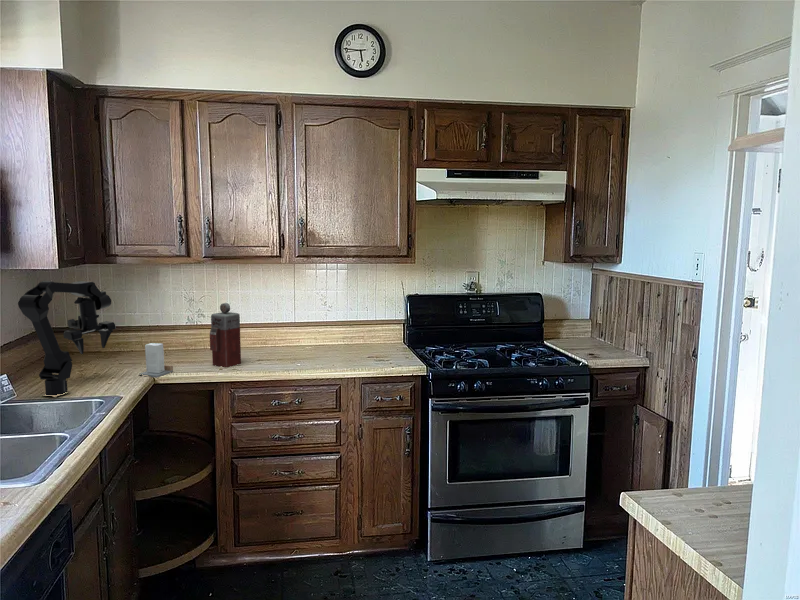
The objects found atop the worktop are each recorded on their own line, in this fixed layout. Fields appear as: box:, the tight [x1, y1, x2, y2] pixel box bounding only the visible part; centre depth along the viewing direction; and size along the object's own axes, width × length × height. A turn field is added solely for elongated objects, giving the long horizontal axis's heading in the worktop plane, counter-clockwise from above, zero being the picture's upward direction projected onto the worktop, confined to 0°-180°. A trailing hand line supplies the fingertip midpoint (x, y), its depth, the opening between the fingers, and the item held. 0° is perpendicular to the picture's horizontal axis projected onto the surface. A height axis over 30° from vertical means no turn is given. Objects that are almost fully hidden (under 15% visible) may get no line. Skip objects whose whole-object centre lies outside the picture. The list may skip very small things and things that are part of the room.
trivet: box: [139, 364, 174, 379], centre depth 242 cm, size 10×9×3 cm
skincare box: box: [144, 342, 165, 373], centre depth 241 cm, size 6×4×12 cm
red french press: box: [209, 302, 242, 368], centre depth 256 cm, size 9×11×28 cm
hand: (92, 350), depth 228 cm, fingers open, 9 cm apart
